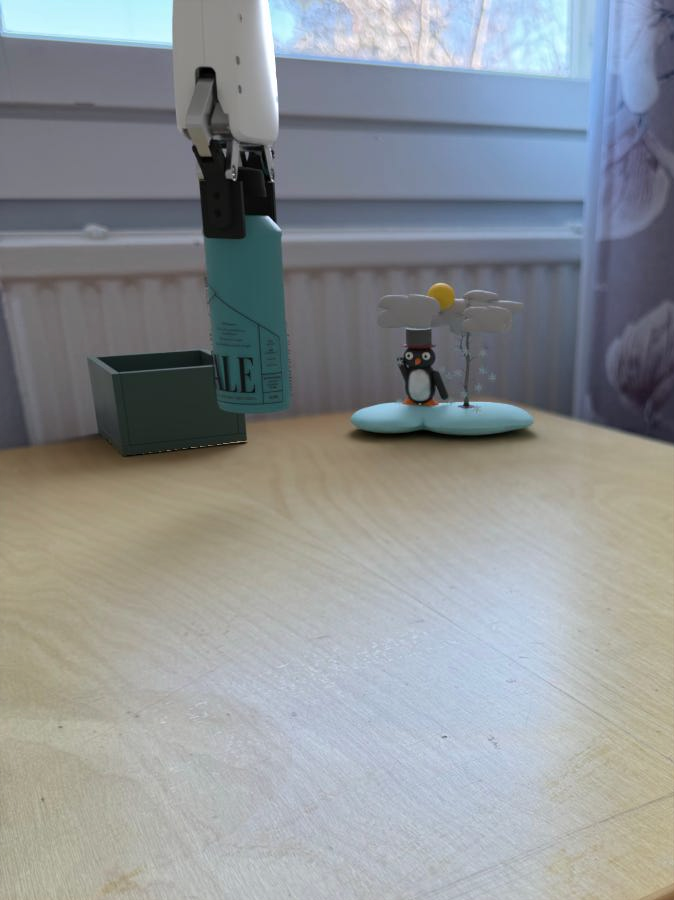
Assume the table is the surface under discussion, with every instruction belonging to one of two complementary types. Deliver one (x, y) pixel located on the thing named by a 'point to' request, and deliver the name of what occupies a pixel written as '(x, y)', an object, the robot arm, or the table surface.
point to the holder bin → (160, 402)
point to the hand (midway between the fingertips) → (242, 234)
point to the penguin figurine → (423, 380)
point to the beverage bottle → (249, 312)
